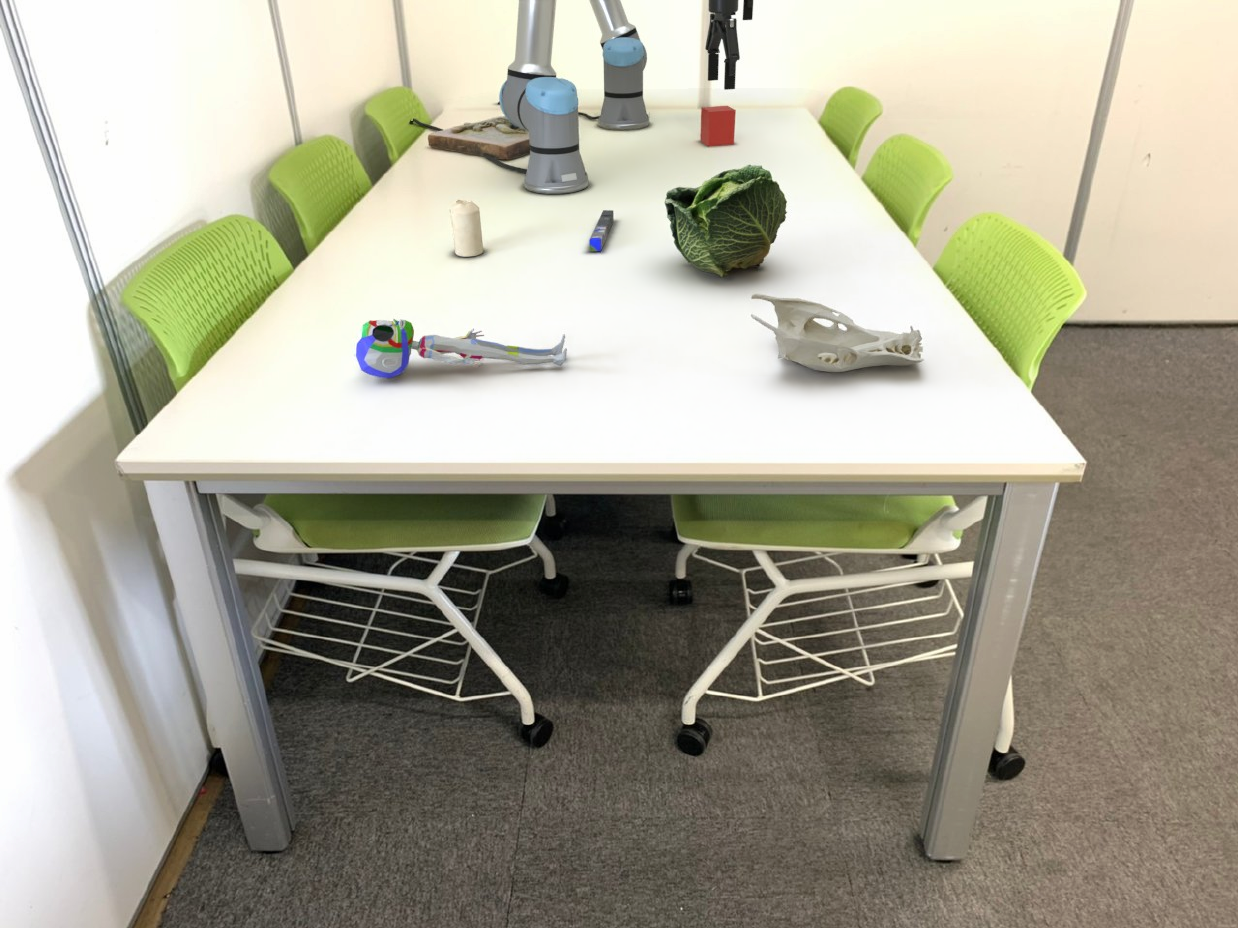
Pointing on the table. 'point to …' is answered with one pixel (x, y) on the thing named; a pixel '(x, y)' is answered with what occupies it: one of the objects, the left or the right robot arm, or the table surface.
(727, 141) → the brick
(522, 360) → the toy
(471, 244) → the candle
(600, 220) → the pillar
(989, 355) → the table surface
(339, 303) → the table surface
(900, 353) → the anatomical model
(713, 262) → the vegetable
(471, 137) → the plaque
